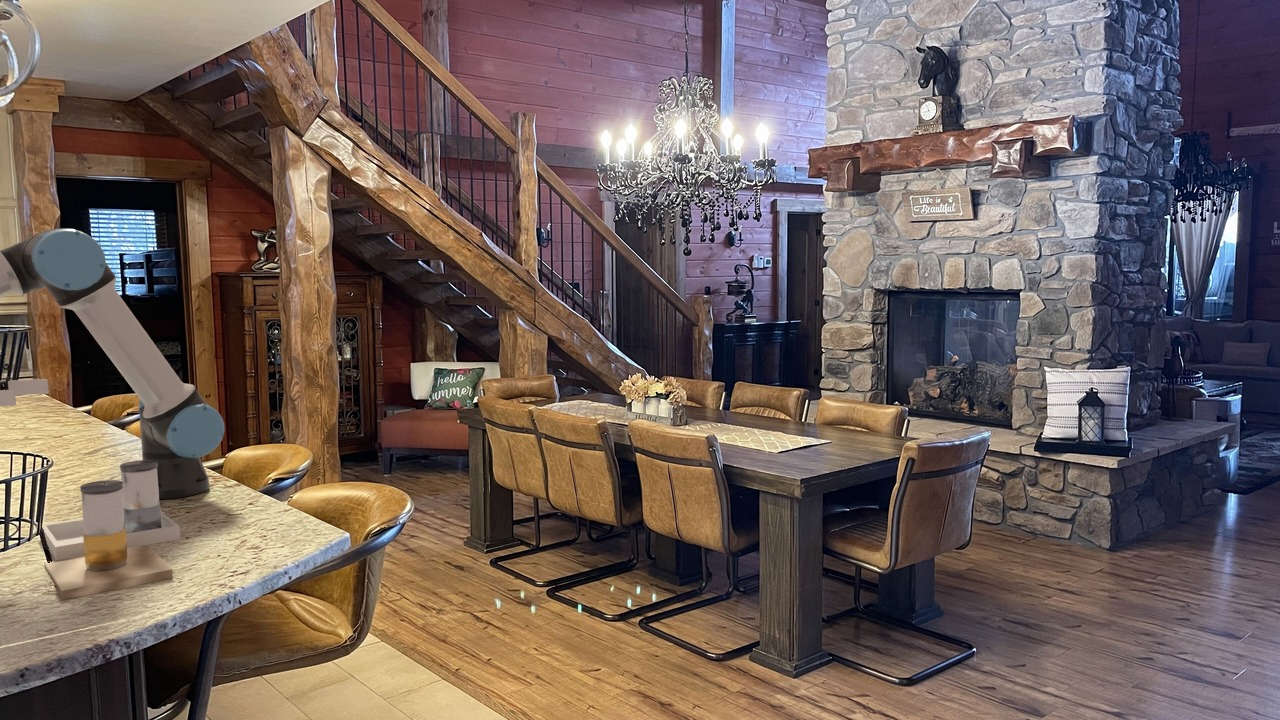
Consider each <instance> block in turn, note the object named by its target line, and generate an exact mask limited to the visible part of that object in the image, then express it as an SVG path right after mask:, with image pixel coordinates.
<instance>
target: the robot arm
mask: <svg viewBox="0 0 1280 720" xmlns="http://www.w3.org/2000/svg"><path fill="white" fill-rule="evenodd" d="M116 282H117V276H116V275H115V273H114V272H113V271H112V269H111V268H110V266H109V265H108V264H107V262H106V256H105V253H104V250H103V248H102V246H101V245H100V243H99V242H97V241H96V240H95V238H93V237H92V236H90V235H89V234H87V233H85V232H83V231H81V230H77V229H74V228H56V229H48V230H43V231H39V232H37V233H36V234H33V235H31V236H29V237H28V238H25V239H24V240H21V241H20V242H17V243H15V244H13V245H11V246H9V247H6V248H4V249H3V248H2V249H1V250H0V298H4V297H5V296H9V295H11V294H14V295H18V296H23V295H25V294H29V293H31V292H34V291H38V290H39V291H40V290H44V289H46V290H47V291H48V292H49V293H50V296H52V298H53V300H54V301H55V302H57V304H58V306H59V307H60V308H63V309H67V310H72V311H73V312H74V313H75V314H76V315H77V317H78V318H79V319H80V321H81V323H83V325H84V326H85V328H86V329H87V330H88V331H89V333H90V335H92V337H93V338H94V340H95V341H96V342H97V344H98V345H99V346H100V348H101V349H102V350H103V351H104V353H105V354H106V356H107V357H108V358H109V359H110V361H111V362H112V363H113V365H114V366H115V367H116V369H117V370H118V372H119V373H120V374H121V376H122V377H123V378H124V379H125V381H126V382H127V383H128V385H129V386H130V388H132V389H131V390H133V391H134V393H135V394H136V396H137V397H138V398H139V400H138V413H139V426H140V440H141V441H140V442H141V454H142V457H141V458H142V460H154V461H157V464H158V467H157V474H158V490H159V500H168V499H179V498H184V497H185V498H186V497H189V496H194V495H198V494H201V493H205V492H206V491H208V490H209V489H210V479H209V476H208V473H207V471H206V469H205V466H204V464H203V462H202V459H201V458H202V457H204V456H207V455H208V454H211V453H212V452H213V451H215V450H216V449H217V447H219V446H220V444H221V442H222V440H223V437H224V434H225V422H224V418H223V416H222V415H221V414H220V413H219V411H218V410H217V409H215V408H214V407H213V406H211V405H210V404H209V405H208V403H207V402H206V401H205V399H204V397H202V395H201V394H200V392H199V390H198V389H197V388H196V387H195V385H194V384H191V383H186V382H185V383H184V382H183V381H182V380H181V379H180V377H179V376H178V374H177V373H176V372H175V371H174V369H173V368H172V367H171V365H170V363H169V362H168V360H167V359H166V358H165V356H164V355H163V354H162V352H161V351H160V349H159V348H158V347H157V345H156V344H155V342H154V341H153V339H151V337H150V336H149V334H148V333H147V331H146V330H145V329H144V327H143V326H142V325H141V323H140V322H139V320H138V319H137V318H136V316H135V315H134V314H133V312H132V310H130V308H129V306H128V305H127V303H126V302H125V301H124V300H123V299H122V297H121V295H120V294H119V292H118V291H117V290H116V288H115V285H116ZM49 390H50V389H49V380H48V378H37V379H19V380H18V379H17V380H16V379H15V380H12V377H11V376H5V379H2V380H0V407H12V406H13V407H14V406H17V399H16V396H24V395H25V396H26V395H27V396H28V395H30V396H31V395H48V394H50V391H49Z"/></svg>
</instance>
